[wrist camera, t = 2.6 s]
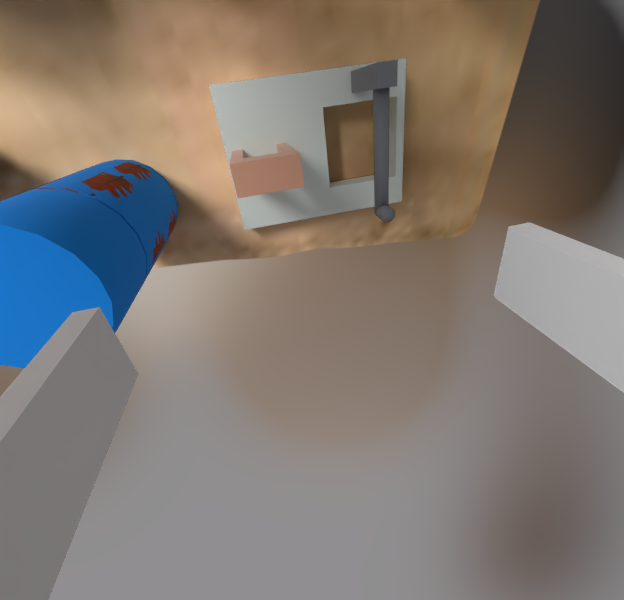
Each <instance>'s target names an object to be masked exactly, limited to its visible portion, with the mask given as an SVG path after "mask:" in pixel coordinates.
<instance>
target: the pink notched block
mask: <svg viewBox="0 0 624 600" xmlns="http://www.w3.org/2000/svg"><path fill="white" fill-rule="evenodd" d="M276 146H277V152H278V153H274V154H268V155H261V156H255V157H249V158H244V154H243V149H242V150H236V151H232V155H231V159H230V164H229V165H230V169H231V173H232V177H233V181H234V186H235V190H236V194H237V198H243V197H249V196H255V195H261V194H267V193H272V192H278V191H284V190H290V189H296V188H302V187H304V181H303V173H302V165H301V158H300V153H299V152H298V151H297V150H295V149H294V148H293V147H291V146H290V145H289V144H287V143H281V144H276Z"/></svg>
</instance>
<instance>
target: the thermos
mask: <svg viewBox="0 0 624 600" xmlns="http://www.w3.org/2000/svg"><path fill="white" fill-rule="evenodd" d="M177 209H178V204H177V201H176V198H175V195H174V192H173V190H172V188H171V187H170V185H169V184H168V183H167V181H166V180H165V179H164V177H163V176H161V175H160V174H159V173H157V172H156V171H155V170H153V169H152V168H151V167H149V166H147V165H144V164H141V163H139V162H136V161H133V160H113V161H108V162H103V163H101V164H98V165H95V166H92V167H89V168H86V169H84V170H81V171H79V172H76V173H73V174H71V175H68V176H65V177H63V178H60V179H58V180H55V181H52V182H50V183H47V184H45V185H42V186H39V187H37V188H34V189H31V190H29V191H26V192H24V193H21V194H18V195H16V196H13V197H11V198H8V199H5V200H3V201H0V365H5V366H13V367H19V368H25V367H26V366H27V365H28V364H29V363H30V361H31V360H32V359H33V358H34V357H35V356H36V354H37V353H38V352H39V351H40V350H41V349H42V347H43V346H44V345H45V344H46V343H47V341H48V340H49V339H50V338H51V337H52V336H53V334H54V333H55V332H56V331H57V330H58V329H59V327H60V326H61V325H62V324H63V323H64V321H65V320H66V319H67V318H68V317H69V316H70V314H71V313H72V312H76V311H81V310H87V309H92V308H97V307H100V309H101V310H102V312H103V314H104V316H105V317H106V319H107V321H108V322H109V324H110V326H111V328H112V329H113V331H114V333H115V332H116V331H117V329H118V327H119V325H120V324H121V322H122V320H123V318H124V317H125V315H126V313H127V311H128V310H129V308H130V306H131V304H132V302H133V301H134V299H135V297H136V295H137V293H138V292H139V290H140V288H141V287H142V285H143V283H144V281H145V279H146V278H147V276H148V274H149V272H150V271H151V269H152V267H153V265H154V263H155V262H156V260H157V258H158V256H159V255H160V253H161V251H162V249H163V248H164V246H165V244H166V242H167V240H168V238H169V236H170V234H171V232H172V230H173V228H174V225H175V222H176V220H177Z"/></svg>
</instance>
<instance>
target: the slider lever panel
mask: <svg viewBox="0 0 624 600" xmlns="http://www.w3.org/2000/svg"><path fill="white" fill-rule="evenodd" d="M405 82H406V58H405V59H397V60H390V61H383V62H375V63H368V64H361V65H353V66H346V67H339V68H331V69H324V70H317V71H309V72H302V73H295V74H287V75H280V76H273V77H265V78H258V79H251V80H243V81H236V82H229V83H221V84H214V85H209V88H210V92H211V96H212V100H213V104H214V108H215V112H216V116H217V120H218V124H219V128H220V132H221V136H222V140H223V144H224V149H225V153H226V157H227V161H228V165H229V164H230V159H231V155H232V151H236V150H242V149H243V154H244V158H249V157H255V156H261V155H268V154H274V153H278V152H277V146H276V144H281V143H287V144H289V145H290V146H291V147H293V148H294V149H295V150H297V151H298V152H299V153H300V158H301V165H302V173H303V181H304V187H302V188H296V189H290V190H284V191H278V192H272V193H267V194H261V195H255V196H249V197H243V198H237V201H238V205H239V209H240V213H241V217H242V222H243V226H244V230H248V229H253V228H259V227H264V226H270V225H275V224H281V223H286V222H292V221H297V220H303V219H308V218H314V217H319V216H325V215H330V214H336V213H341V212H347V211H352V210H358V209H363V208H369V207H374V206H375V214H376V215H377V216H378V217H379V218H380V219H382V220H383V221H384V222H390V221H391V220H393V218H394V216H395V211H394V210H393V209H392V208H390V207H389V204H391V203H396V202H402V179H403V147H404V114H405ZM370 100H373V139H374V175H370V176H364V177H358V178H352V179H346V180H341V181H335V182H329V172H328V160H327V149H326V138H325V126H324V115H323V107H329V106H336V105H343V104H349V103H356V102H363V101H370ZM229 169H230V165H229ZM230 173H231V169H230ZM231 177H232V173H231ZM232 181H233V177H232ZM233 185H234V181H233ZM234 189H235V186H234ZM235 193H236V190H235ZM236 197H237V194H236Z"/></svg>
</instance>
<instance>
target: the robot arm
mask: <svg viewBox="0 0 624 600" xmlns="http://www.w3.org/2000/svg"><path fill="white" fill-rule="evenodd" d="M494 297H495V298H496V299H498V300H499V301H500V302H502V303H503V304H504V305H506V306H507V307H508V308H510V309H511V310H513V311H514V312H515V313H516V314H518V315H519V316H520V317H522V318H523V319H525V320H526V321H527V322H529V323H530V324H531V325H533V326H534V327H535V328H537V329H538V330H540V331H541V332H542V333H544V334H545V335H546V336H548V337H549V338H550V339H552V340H553V341H554V342H556V343H557V344H558V345H560V346H561V347H562V348H564V349H565V350H567V351H568V352H569V353H571V354H572V355H574V356H575V357H576V358H577V359H579V360H580V361H581V362H583V363H584V364H585V365H587V366H588V367H589V368H591V369H592V370H594V371H595V372H596V373H598V374H599V375H600V376H602V377H603V378H604V379H606V380H607V381H608V382H610V383H611V384H613V385H614V386H615V387H616V388H618V389H619V390H621V391H622V392H623V393H624V259H623V258H620V257H617V256H615V255H612V254H610V253H607V252H604V251H602V250H599V249H596V248H594V247H591V246H589V245H586V244H584V243H581V242H578V241H576V240H573V239H571V238H568V237H566V236H563V235H560V234H558V233H555V232H553V231H550V230H548V229H545V228H542V227H540V226H537V225H535V224H532V223H530V222H529V223H524V224H519V225H515V226H509V227H508V232H507V236H506V241H505V246H504V250H503V255H502V259H501V264H500V269H499V274H498V278H497V283H496V287H495V292H494ZM137 376H138V372H137V371H136V369H135V367H134V365H133V364H132V362H131V360H130V359H129V357H128V355H127V353H126V352H125V350H124V348H123V347H122V345H121V343H120V341H119V340H118V338H117V336H116V335H115V333H114V331H113V329H112V328H111V326H110V324H109V322H108V321H107V319H106V317H105V316H104V314H103V312H102V310H101V309H100V307H97V308H92V309H87V310H81V311H76V312H72V313H71V314H70V316H69V317H68V318H67V319H66V320H65V321H64V323H63V324H62V325H61V326H60V327H59V329H58V330H57V331H56V332H55V333H54V334H53V336H52V337H51V338H50V339H49V340H48V341H47V343H46V344H45V345H44V346H43V347H42V349H41V350H40V351H39V352H38V353H37V354H36V356H35V357H34V358H33V359H32V360H31V361H30V363H29V364H28V365H27V366H26V367H25V369H24V370H23V371H22V372H21V373H20V374H19V376H18V377H17V378H16V379H15V381H14V382H13V383H12V384H11V385H10V386H9V388H8V389H7V390H6V391H5V392H4V393H3V394H2V396H1V397H0V600H48V599H49V597H50V594H51V592H52V589H53V587H54V584H55V582H56V579H57V576H58V574H59V572H60V569H61V566H62V564H63V561H64V559H65V557H66V554H67V551H68V549H69V547H70V544H71V542H72V539H73V537H74V534H75V531H76V529H77V527H78V524H79V521H80V519H81V516H82V514H83V511H84V509H85V506H86V504H87V501H88V499H89V496H90V494H91V491H92V489H93V486H94V484H95V481H96V479H97V476H98V474H99V471H100V469H101V466H102V464H103V461H104V459H105V456H106V454H107V451H108V449H109V446H110V444H111V441H112V439H113V436H114V434H115V431H116V429H117V426H118V424H119V421H120V418H121V416H122V414H123V411H124V409H125V406H126V404H127V401H128V399H129V396H130V394H131V391H132V389H133V386H134V384H135V381H136V379H137Z"/></svg>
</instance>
